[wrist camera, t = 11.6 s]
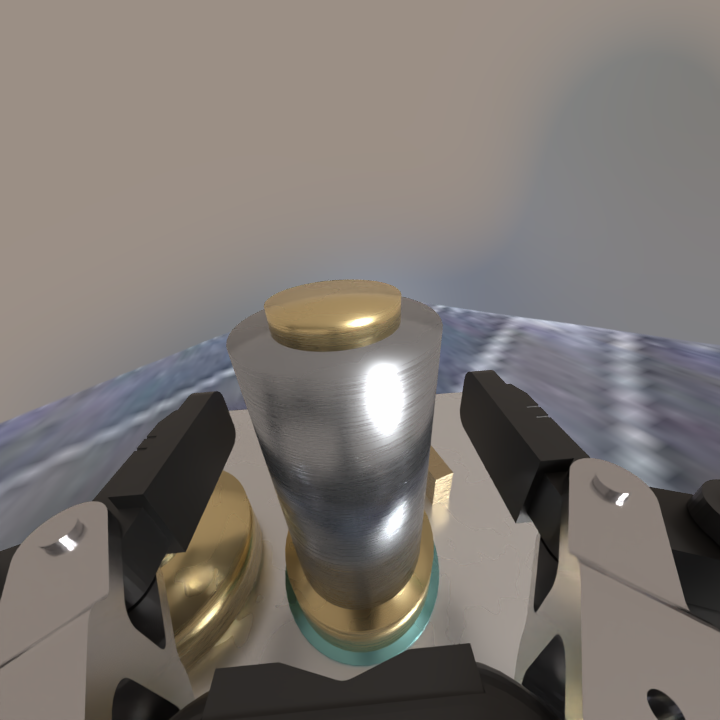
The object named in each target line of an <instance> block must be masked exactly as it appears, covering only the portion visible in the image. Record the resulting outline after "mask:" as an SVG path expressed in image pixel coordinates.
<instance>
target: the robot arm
mask: <svg viewBox="0 0 720 720" xmlns="http://www.w3.org/2000/svg"><path fill="white" fill-rule="evenodd" d="M460 419H461V423H462V426H463V428H464V430H465V432H466V433H467V435H468V437H469V439H470V441H471V443H472V444H473V446H474V448H475V450H476V452H477V454H478V455H479V457H480V459H481V461H482V463H483V465H484V466H485V468H486V470H487V472H488V474H489V476H490V477H491V479H492V481H493V483H494V485H495V487H496V488H497V490H498V492H499V494H500V496H501V498H502V499H503V501H504V503H505V505H506V507H507V509H508V510H509V512H510V514H511V516H512V518H513V520H514V521H515V523H526V522H533V524H534V525H535V527H536V529H537V530H538V534H537V536H536V541H535V550H534V559H533V567H532V576H531V585H530V594H529V603H528V612H527V618H526V623H525V627H524V630H523V633H522V636H521V640H520V644H519V649H518V655H517V661H516V669H515V677H514V679H512V678H511V677H509V676H507V675H506V674H504V673H503V672H501V671H499V670H497V669H494V668H492V667H490V666H488V665H485V664H483V663H480V662H476V661H475V658H474V654H473V651H472V647H471V644H470V643H465V644H455V645H445V646H435V647H425V648H415V649H408V650H406V651H404V652H402V653H400V654H398V655H396V656H394V657H392V658H390V659H388V660H386V661H384V662H382V663H381V664H379V665H377V666H375V667H373V668H371V669H369V670H367V671H365V672H363V673H361V674H359V675H357V676H355V677H353V678H351V679H349V680H344V681H340V680H335V679H332V678H329V677H326V676H322V675H319V674H316V673H313V672H309V671H306V670H303V669H300V668H296V667H293V666H290V665H287V664H283V663H280V662H276V663H266V664H256V665H246V666H236V667H226V668H216V669H215V672H214V676H213V679H212V683H211V687H210V690H209V691H208V692H206V693H204V694H203V695H201V696H200V697H198V698H197V699H194V694H193V690H192V686H191V683H190V680H189V677H188V675H187V672H186V670H185V668H184V666H183V664H182V663H181V660H180V658H179V655H178V652H177V649H176V644H175V638H174V633H173V627H172V621H171V616H170V610H169V604H168V598H167V593H166V587H165V581H164V576H163V572H162V570H161V568H160V565H161V563H162V561H163V559H164V557H165V555H166V554H171V553H182V552H186V550H187V548H188V546H189V544H190V542H191V539H192V537H193V535H194V533H195V531H196V528H197V526H198V524H199V522H200V519H201V517H202V515H203V513H204V511H205V508H206V506H207V504H208V502H209V500H210V497H211V495H212V493H213V491H214V489H215V486H216V484H217V482H218V480H219V478H220V475H221V473H222V471H223V469H224V466H225V464H226V462H227V460H228V458H229V455H230V453H231V451H232V449H233V447H234V444H235V438H236V431H235V426H234V424H233V421H232V418H231V416H230V413H229V411H228V408H227V406H226V403H225V400H224V398H223V396H222V394H221V393H220V392H218V391H216V392H203V393H193V394H191V395H190V396H189V397H188V398H187V399H186V401H185V402H184V403H183V404H182V406H181V407H180V408H179V409H178V410H176V411H174V412H173V413H171V414H170V415H169V416H167V417H166V418H164V419H163V420H162V421H160V422H159V423H158V424H157V425H156V426H155V428H154V429H153V430H152V431H151V432H150V434H149V435H148V436H147V439H144V441H143V442H142V443H141V444H140V445H139V447H138V448H137V451H134V452H133V454H132V455H131V456H130V457H129V458H128V459H127V461H126V462H125V463H124V464H123V465H122V467H121V468H120V469H119V470H118V471H117V472H116V474H115V475H114V476H113V477H112V478H111V480H110V481H109V482H108V483H107V484H106V485H105V487H104V488H103V489H102V490H101V491H100V493H99V494H98V495H97V496H96V497H95V498H94V500H93V501H92V502H85V503H81V504H78V505H75V506H73V507H70V508H68V509H66V510H64V511H62V512H60V513H58V514H57V515H55V516H53V517H52V518H50V519H49V520H47V521H46V522H45V523H43V524H42V525H41V526H39V527H38V528H37V529H36V530H35V531H33V532H32V533H31V534H30V535H29V536H28V537H27V538H26V539H25V540H24V541H23V543H22V544H20V545H17V546H14V547H11V548H8V549H5V550H3V551H0V720H720V480H717V479H716V480H709V481H707V482H705V483H704V484H703V485H702V486H701V487H700V488H699V489H698V490H697V492H696V493H695V494H694V495H692V494H686V493H680V492H675V491H669V490H664V489H658V488H653V487H648V486H647V485H646V484H645V483H644V482H643V481H642V480H641V479H639V478H638V477H637V476H635V475H634V474H632V473H631V472H629V471H627V470H626V469H624V468H622V467H620V466H618V465H615V464H613V463H610V462H607V461H604V460H600V459H593V458H590V457H589V456H588V455H587V454H586V453H585V452H584V451H583V450H582V449H581V448H580V447H579V446H578V445H577V444H576V443H575V442H574V441H573V440H572V439H571V438H570V437H569V436H568V435H567V434H566V433H565V432H564V431H563V429H562V428H561V427H560V426H559V425H558V424H557V423H556V422H555V421H554V420H553V419H552V418H551V417H550V418H549V417H548V414H547V413H546V412H545V411H544V410H543V409H542V408H541V407H538V404H537V403H536V402H535V401H534V400H533V399H532V398H531V397H530V396H529V395H528V394H527V393H526V392H524V391H522V390H520V389H519V388H517V387H515V386H513V385H512V384H506V383H505V382H504V381H503V380H502V379H501V378H500V377H499V376H498V375H497V374H496V372H494V371H493V370H486V371H473V372H467V374H466V376H465V380H464V386H463V392H462V398H461V404H460Z"/></svg>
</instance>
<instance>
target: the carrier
mask: <svg viewBox="0 0 720 720" xmlns="http://www.w3.org/2000/svg"><path fill="white" fill-rule="evenodd" d="M461 398H462V392H460V393H447V394H436V397H435V407H434V417H433V426H432V436H431V446H430V456H429V466H428V475H427V485H426V495H425V505H424V510H425V512H426V514H427V516H428V519H429V522H430V525H431V529H432V533H433V542H434V556H433V564H432V570H431V577H430V583H429V589H428V594H427V597H426V601H425V604H424V606H423V608H422V611H421V613H420V615H419V617H418V618H417V620H416V621H415V623H414V624H413V626H412V627H411V628H410V629H409V630H408V631H407V633H406V634H404V635H403V636H402V637H401V638H400V639H399V640H397V641H396V642H394V643H392V644H391V645H389V646H387V647H385V648H382V649H379V650H376V651H371V652H351V651H346V650H343V649H340V648H338V647H335V646H333V645H332V644H330V643H328V642H327V641H325V640H324V639H323V638H322V637H321V636H319V635H318V634H317V633H316V632H315V631H314V629H313V628H312V627H311V626H310V624H309V623H308V621H307V620H306V618H305V616H304V614H303V612H302V610H301V607H300V605H299V603H298V600H297V598H296V595H295V593H294V590H293V588H292V585H291V583H290V580H289V577H288V573H287V568H286V561H285V546H286V538H287V534H288V526H287V523H286V520H285V518H284V515H283V512H282V509H281V506H280V503H279V500H278V497H277V494H276V491H275V488H274V485H273V482H272V479H271V477H270V474H269V471H268V468H267V465H266V462H265V459H264V456H263V453H262V450H261V447H260V444H259V441H258V438H257V436H256V433H255V430H254V427H253V424H252V421H251V418H250V415H249V412H248V409H247V410H235V411H229V413H230V416H231V418H232V421H233V424H234V426H235V431H236V438H235V444H234V447H233V449H232V451H231V453H230V455H229V458H228V460H227V462H226V464H225V466H224V469H223V471H222V473H221V475H220V478H219V480H218V482H217V484H216V486H215V489H214V491H213V493H212V495H211V497H210V500H209V502H208V504H207V506H206V508H205V511H204V513H203V515H202V517H201V519H200V522H199V524H198V526H197V528H196V531H195V533H194V535H193V537H192V539H191V542H190V544H189V546H188V548H187V550H186V552H182V553H171V554H166V555H165V557H164V559H163V561H162V563H161V565H160V568H161V570H162V572H163V576H164V581H165V587H166V593H167V598H168V604H169V610H170V616H171V621H172V627H173V633H174V638H175V644H176V649H177V652H178V655H179V658H180V660H181V663H182V664H183V666H184V668H185V670H186V672H187V675H188V677H189V680H190V683H191V686H192V690H193V694H194V699H197V698H198V697H200V696H201V695H203V694H204V693H206V692H208V691H209V690H210V687H211V683H212V679H213V676H214V672H215V669H216V668H226V667H236V666H246V665H256V664H266V663H276V662H280V663H283V664H287V665H290V666H293V667H296V668H300V669H303V670H306V671H309V672H313V673H316V674H319V675H322V676H326V677H329V678H332V679H335V680H340V681H344V680H349V679H351V678H353V677H355V676H357V675H359V674H361V673H363V672H365V671H367V670H369V669H371V668H373V667H375V666H377V665H379V664H381V663H382V662H384V661H386V660H388V659H390V658H392V657H394V656H396V655H398V654H400V653H402V652H404V651H406V650H408V649H415V648H425V647H435V646H445V645H455V644H465V643H470V644H471V647H472V651H473V654H474V658H475V661H476V662H480V663H483V664H485V665H488V666H490V667H492V668H494V669H497V670H499V671H501V672H503V673H504V674H506V675H507V676H509V677H511V678H512V679H514V677H515V669H516V661H517V655H518V649H519V644H520V640H521V636H522V633H523V630H524V627H525V623H526V618H527V612H528V603H529V594H530V585H531V576H532V567H533V559H534V550H535V541H536V536H537V534H538V530H537V529H536V527H535V525H534V524H533V522H526V523H515V521H514V520H513V518H512V516H511V514H510V512H509V510H508V509H507V507H506V505H505V503H504V501H503V499H502V498H501V496H500V494H499V492H498V490H497V488H496V487H495V485H494V483H493V481H492V479H491V477H490V476H489V474H488V472H487V470H486V468H485V466H484V465H483V463H482V461H481V459H480V457H479V455H478V454H477V452H476V450H475V448H474V446H473V444H472V443H471V441H470V439H469V437H468V435H467V433H466V432H465V430H464V428H463V426H462V423H461V419H460V404H461Z"/></svg>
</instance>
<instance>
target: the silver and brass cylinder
mask: <svg viewBox="0 0 720 720" xmlns="http://www.w3.org/2000/svg"><path fill="white" fill-rule="evenodd" d="M442 326H443V324H442V321H441V318H440V317H439V315H438V314H437V313H436V312H435V311H434V310H433V309H431V308H430V307H428V306H427V305H425V304H423V303H421V302H418V301H415V300H412V299H409V298H406V297H401V292H400V291H399V290H398V289H397V288H396V287H394V286H391V285H389V284H386V283H382V282H377V281H369V280H332V281H322V282H315V283H310V284H305V285H300V286H296V287H293V288H289V289H286V290H284V291H281V292H279V293H277V294H275V295H273V296H272V297H270V298H269V299H268V300H267V301H266V302H265V304H264V310H261V311H259V312H257V313H255V314H253V315H252V316H250V317H248V318H247V319H245V320H243V321H242V322H241V323H239V324H238V325H237V326H236V327H235V328H234V329H233V330H232V331H231V333H230V334H229V336H228V339H227V344H226V347H227V350H228V354H229V356H230V359H231V362H232V365H233V368H234V371H235V374H236V377H237V380H238V383H239V386H240V389H241V392H242V395H243V397H244V400H245V403H246V406H247V409H248V412H249V415H250V418H251V421H252V424H253V427H254V430H255V433H256V436H257V438H258V441H259V444H260V447H261V450H262V453H263V456H264V459H265V462H266V465H267V468H268V471H269V474H270V477H271V479H272V482H273V485H274V488H275V491H276V494H277V497H278V500H279V503H280V506H281V509H282V512H283V515H284V518H285V520H286V523H287V526H288V534H287V538H286V546H285V561H286V568H287V573H288V577H289V580H290V583H291V585H292V588H293V590H294V593H295V595H296V598H297V600H298V603H299V605H300V607H301V610H302V612H303V614H304V616H305V618H306V620H307V621H308V623H309V624H310V626H311V627H312V628H313V629H314V631H315V632H316V633H317V634H318V635H319V636H321V637H322V638H323V639H324V640H325V641H327V642H328V643H330V644H332V645H333V646H335V647H338V648H340V649H343V650H346V651H351V652H371V651H376V650H379V649H382V648H385V647H387V646H389V645H391V644H392V643H394V642H396V641H397V640H399V639H400V638H401V637H402V636H403V635H404V634H406V633H407V631H408V630H409V629H410V628H411V627H412V626H413V624H414V623H415V621H416V620H417V618H418V617H419V615H420V613H421V611H422V608H423V606H424V604H425V601H426V597H427V594H428V589H429V583H430V577H431V570H432V564H433V556H434V542H433V533H432V529H431V525H430V522H429V519H428V516H427V514H426V512H425V510H424V505H425V495H426V485H427V475H428V466H429V456H430V446H431V436H432V426H433V417H434V407H435V397H436V387H437V377H438V367H439V358H440V348H441V338H442Z"/></svg>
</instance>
